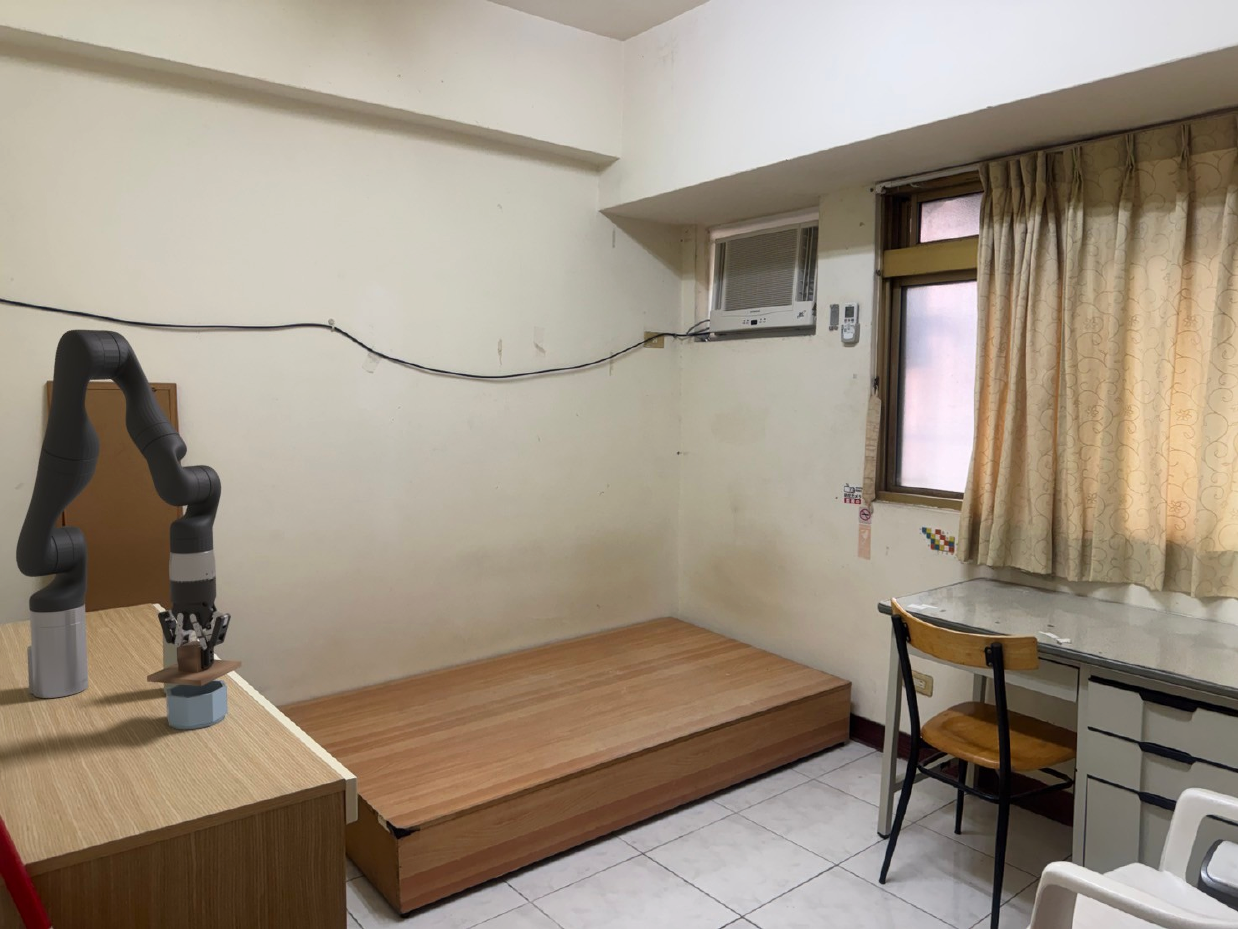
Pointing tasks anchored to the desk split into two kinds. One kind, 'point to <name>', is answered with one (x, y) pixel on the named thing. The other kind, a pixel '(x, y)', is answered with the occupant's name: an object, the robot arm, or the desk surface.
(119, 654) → the desk surface
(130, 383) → the robot arm
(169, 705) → the bowl
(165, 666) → the box
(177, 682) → the lid
